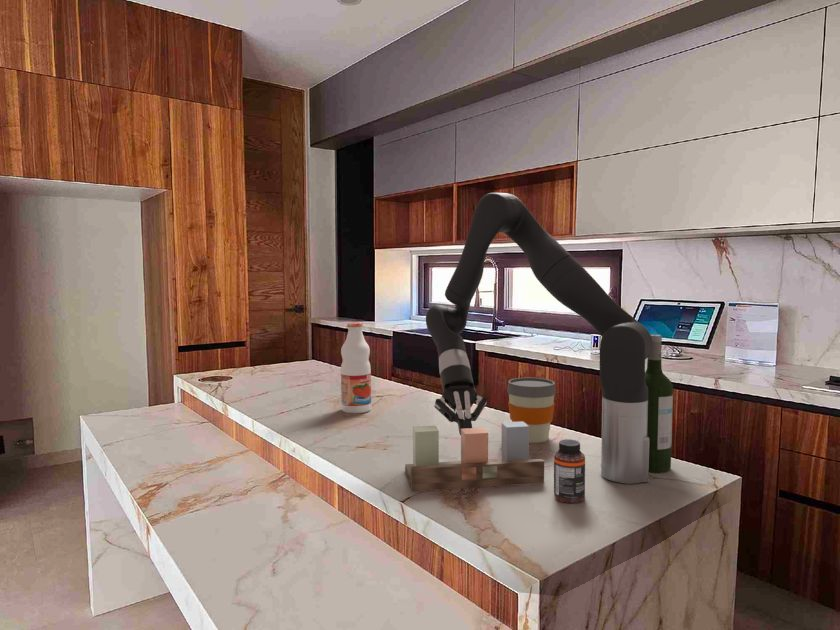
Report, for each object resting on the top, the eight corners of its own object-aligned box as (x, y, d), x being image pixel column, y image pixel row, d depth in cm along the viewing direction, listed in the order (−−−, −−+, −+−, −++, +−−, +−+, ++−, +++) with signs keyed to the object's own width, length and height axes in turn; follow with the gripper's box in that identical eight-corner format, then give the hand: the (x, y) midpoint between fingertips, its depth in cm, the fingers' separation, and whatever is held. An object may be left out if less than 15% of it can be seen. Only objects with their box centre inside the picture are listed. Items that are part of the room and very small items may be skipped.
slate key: (522, 460, 130) (523, 421, 129) (528, 466, 126) (529, 426, 125) (501, 461, 129) (501, 422, 128) (506, 467, 125) (506, 427, 124)
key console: (525, 463, 133) (525, 443, 132) (544, 483, 121) (544, 461, 120) (405, 470, 129) (405, 450, 128) (412, 491, 117) (412, 469, 116)
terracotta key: (483, 467, 125) (483, 427, 124) (488, 474, 121) (488, 432, 120) (460, 469, 125) (460, 428, 124) (465, 475, 121) (464, 434, 120)
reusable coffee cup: (555, 446, 145) (556, 387, 144) (505, 443, 148) (506, 386, 146) (554, 432, 157) (555, 378, 156) (508, 429, 160) (508, 376, 159)
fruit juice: (353, 405, 190) (351, 321, 187) (377, 408, 185) (375, 322, 183) (335, 411, 182) (333, 323, 179) (360, 415, 177) (358, 325, 175)
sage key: (435, 465, 127) (435, 425, 126) (438, 471, 123) (438, 430, 122) (413, 466, 126) (412, 426, 126) (415, 473, 122) (415, 431, 122)
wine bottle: (639, 459, 135) (642, 332, 132) (675, 466, 130) (679, 334, 127) (627, 468, 129) (630, 335, 126) (664, 476, 124) (668, 338, 121)
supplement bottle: (561, 489, 117) (562, 435, 116) (589, 497, 113) (590, 441, 112) (548, 499, 112) (548, 442, 112) (577, 507, 109) (577, 448, 108)
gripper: (430, 364, 136) (440, 429, 125) (484, 362, 138) (499, 426, 127) (426, 381, 141) (435, 445, 130) (479, 379, 143) (492, 442, 132)
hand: (467, 436), depth 128 cm, fingers closed
